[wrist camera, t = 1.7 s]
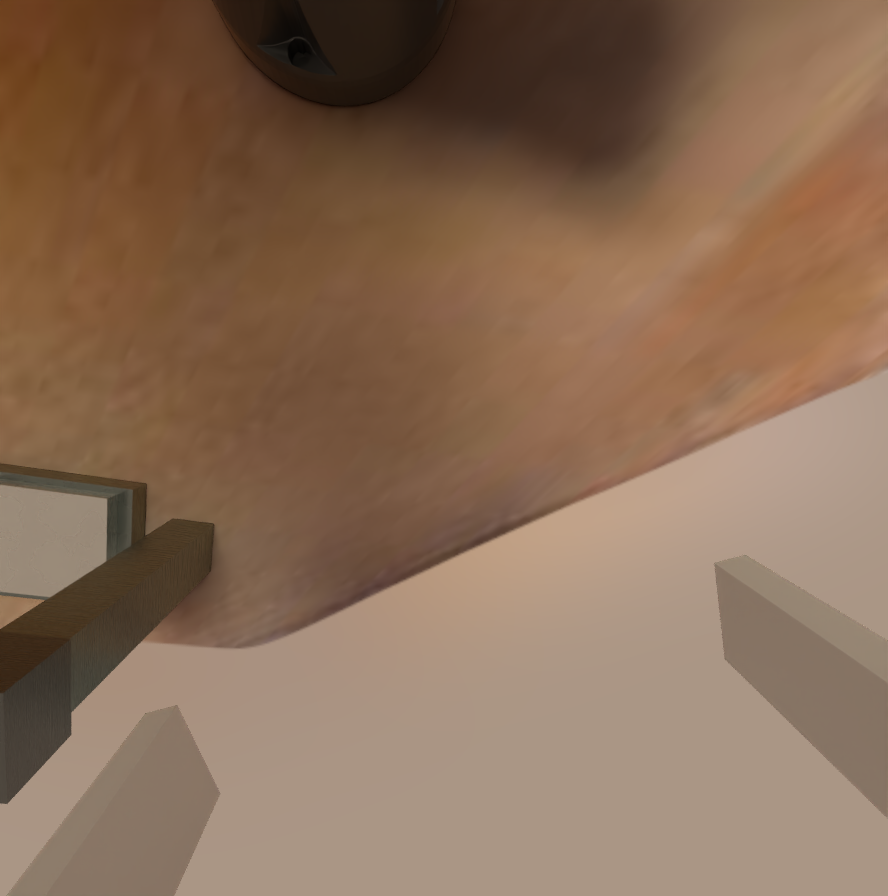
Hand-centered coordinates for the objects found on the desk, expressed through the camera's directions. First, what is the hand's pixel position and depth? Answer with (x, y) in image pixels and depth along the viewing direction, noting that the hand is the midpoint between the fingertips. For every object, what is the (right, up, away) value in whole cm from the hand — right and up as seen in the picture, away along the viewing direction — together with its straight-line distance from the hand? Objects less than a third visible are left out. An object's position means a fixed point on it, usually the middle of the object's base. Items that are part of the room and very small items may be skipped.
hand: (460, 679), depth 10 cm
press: (-33, 0, +21) cm, 39 cm away
